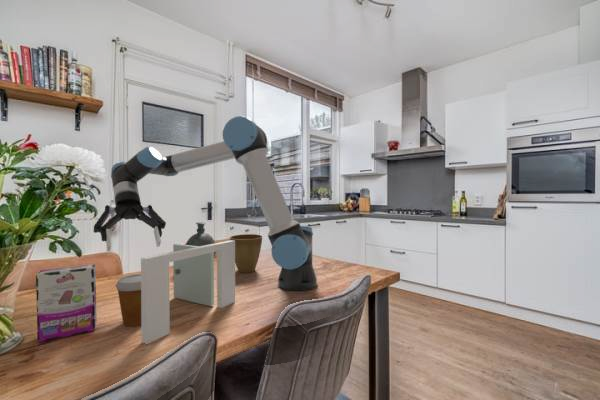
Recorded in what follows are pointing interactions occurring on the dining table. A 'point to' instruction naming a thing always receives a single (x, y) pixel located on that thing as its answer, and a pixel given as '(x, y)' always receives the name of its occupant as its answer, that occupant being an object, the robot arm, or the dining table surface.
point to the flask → (200, 237)
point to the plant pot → (247, 251)
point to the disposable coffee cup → (130, 299)
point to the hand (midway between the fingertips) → (135, 246)
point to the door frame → (157, 285)
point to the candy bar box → (65, 302)
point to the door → (194, 277)
